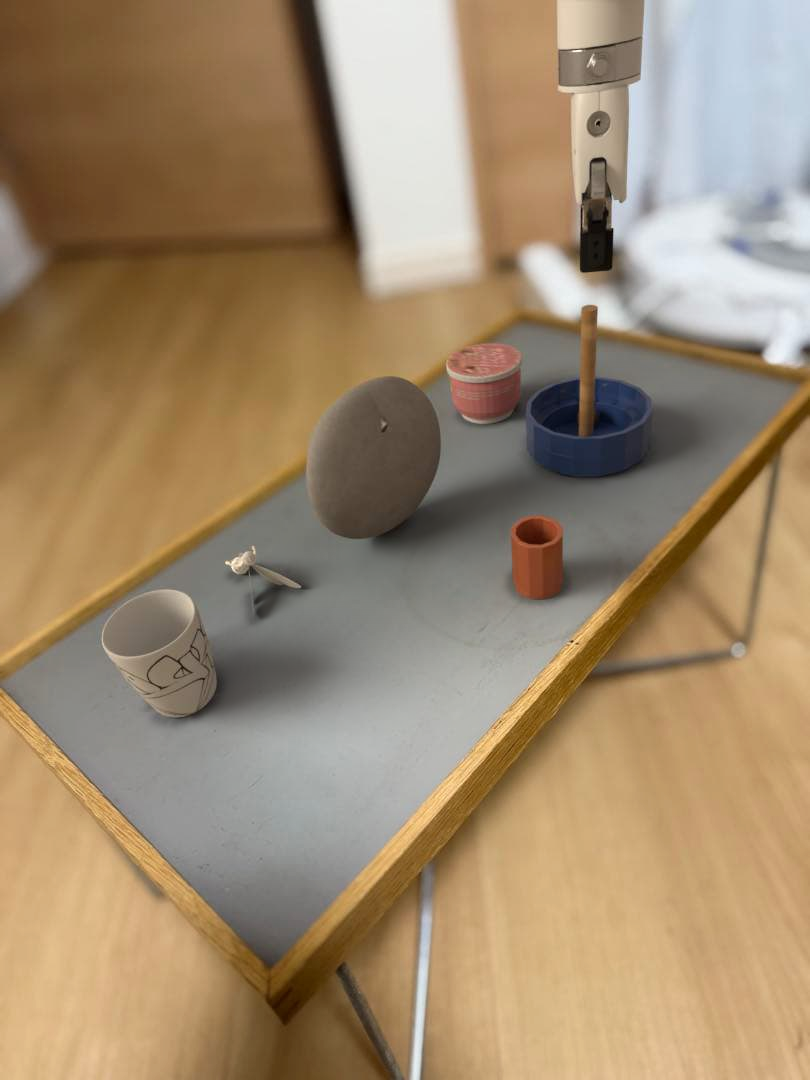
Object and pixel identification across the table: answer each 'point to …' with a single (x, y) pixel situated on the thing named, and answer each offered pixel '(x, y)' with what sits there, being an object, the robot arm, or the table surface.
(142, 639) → the mug
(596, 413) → the bead
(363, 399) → the grey-brown thick disc
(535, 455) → the bowl
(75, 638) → the table surface
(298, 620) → the table surface
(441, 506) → the table surface
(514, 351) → the container
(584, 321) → the stick
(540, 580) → the holder
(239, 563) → the fairy figurine
